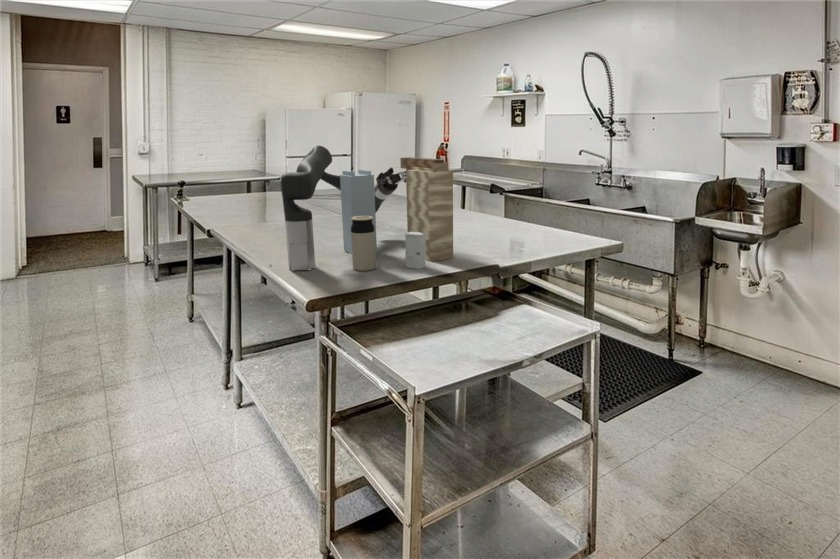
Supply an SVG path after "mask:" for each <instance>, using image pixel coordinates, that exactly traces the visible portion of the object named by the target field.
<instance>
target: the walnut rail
mask: <svg viewBox="0 0 840 559" xmlns="http://www.w3.org/2000/svg"><path fill="white" fill-rule="evenodd" d="M399 158H400V160H399V161H400V169H403V170H404V169H405V170H406V169H412V167H420V168H431V169H433V163H444V162H445V159H443V158H441V159H440V158H425V157H424V158H423V157H412V156H411V157H410V156H409V157H407V156H406V157H399Z"/></svg>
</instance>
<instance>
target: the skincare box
mask: <svg viewBox="0 0 840 559" xmlns="http://www.w3.org/2000/svg"><path fill="white" fill-rule="evenodd" d="M425 253H426V233H420V232H409V233H408V232H407V233H405V268H408V269H415V270H422V269H424V268H425V267H426V260H425Z"/></svg>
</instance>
